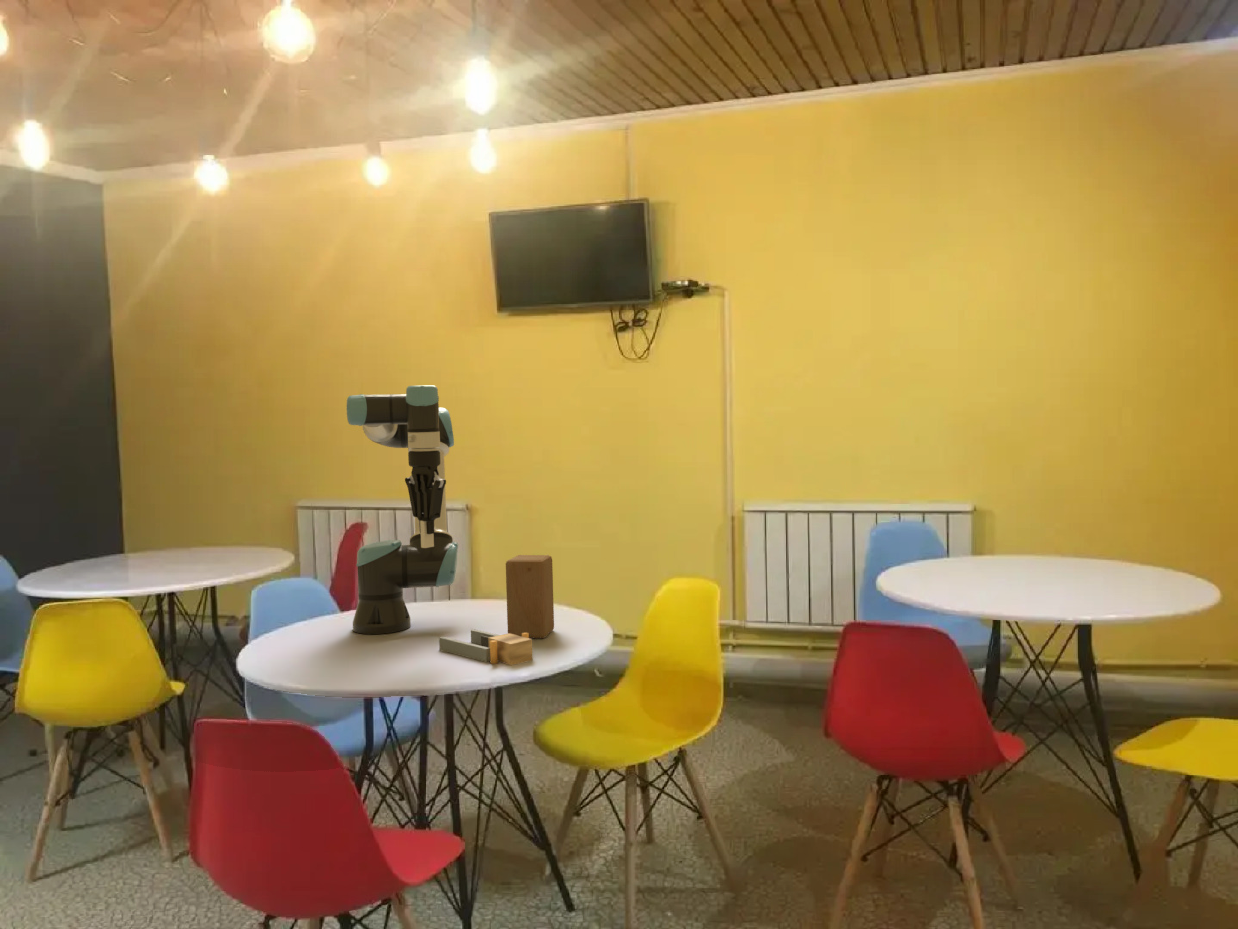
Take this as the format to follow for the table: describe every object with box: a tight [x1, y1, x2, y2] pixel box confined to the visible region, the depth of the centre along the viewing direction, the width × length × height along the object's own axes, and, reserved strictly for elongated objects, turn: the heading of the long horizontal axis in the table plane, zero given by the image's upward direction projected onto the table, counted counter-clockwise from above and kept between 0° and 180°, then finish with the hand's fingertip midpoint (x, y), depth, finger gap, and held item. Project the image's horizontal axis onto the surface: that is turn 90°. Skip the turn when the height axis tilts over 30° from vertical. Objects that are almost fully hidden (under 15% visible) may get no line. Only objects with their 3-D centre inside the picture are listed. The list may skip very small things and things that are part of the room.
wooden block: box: [505, 554, 555, 640], centre depth 236 cm, size 10×10×20 cm
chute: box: [438, 628, 530, 665], centre depth 219 cm, size 21×11×5 cm, turn 47°
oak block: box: [488, 632, 534, 666], centre depth 213 cm, size 9×6×5 cm, turn 42°
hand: (427, 546), depth 222 cm, fingers closed
